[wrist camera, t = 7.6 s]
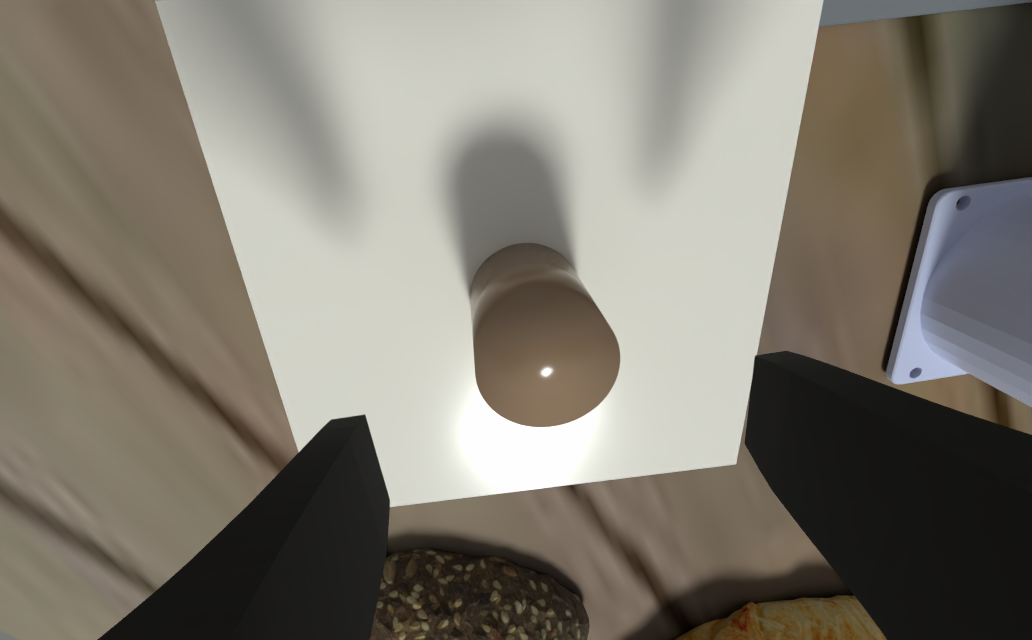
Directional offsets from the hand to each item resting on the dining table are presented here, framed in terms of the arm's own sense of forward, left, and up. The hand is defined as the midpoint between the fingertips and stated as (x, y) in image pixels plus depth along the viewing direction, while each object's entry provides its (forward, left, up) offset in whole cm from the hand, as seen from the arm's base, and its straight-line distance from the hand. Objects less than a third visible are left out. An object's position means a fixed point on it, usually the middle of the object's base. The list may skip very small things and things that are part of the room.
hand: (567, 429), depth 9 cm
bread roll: (+6, +18, -9) cm, 21 cm away
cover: (0, -1, -9) cm, 9 cm away
